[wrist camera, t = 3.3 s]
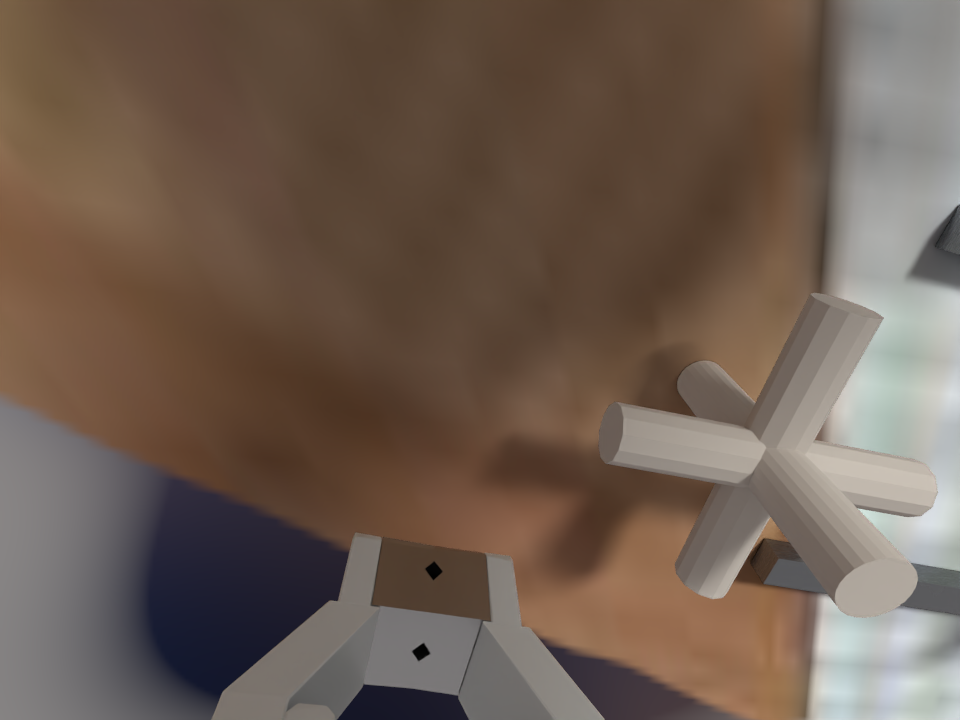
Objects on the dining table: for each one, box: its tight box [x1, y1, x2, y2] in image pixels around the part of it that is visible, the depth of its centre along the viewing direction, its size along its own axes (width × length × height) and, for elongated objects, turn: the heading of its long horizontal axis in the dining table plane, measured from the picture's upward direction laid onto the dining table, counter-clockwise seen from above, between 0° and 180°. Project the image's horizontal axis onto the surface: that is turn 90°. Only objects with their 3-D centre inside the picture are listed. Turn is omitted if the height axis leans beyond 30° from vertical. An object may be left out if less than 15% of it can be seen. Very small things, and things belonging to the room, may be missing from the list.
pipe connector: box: [598, 293, 938, 618], centre depth 17 cm, size 10×10×10 cm
